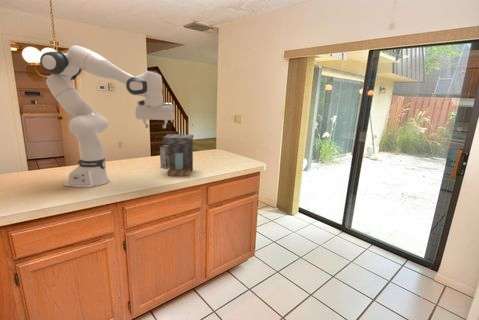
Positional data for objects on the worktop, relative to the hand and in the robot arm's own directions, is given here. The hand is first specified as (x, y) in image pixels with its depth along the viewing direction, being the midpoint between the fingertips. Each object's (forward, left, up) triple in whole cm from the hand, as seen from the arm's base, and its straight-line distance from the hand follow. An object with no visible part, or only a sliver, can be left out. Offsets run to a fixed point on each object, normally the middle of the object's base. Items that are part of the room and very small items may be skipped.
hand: (155, 127), depth 139 cm
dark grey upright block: (+9, +23, -33) cm, 41 cm away
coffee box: (-2, +40, -33) cm, 52 cm away
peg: (+9, +23, -33) cm, 41 cm away
